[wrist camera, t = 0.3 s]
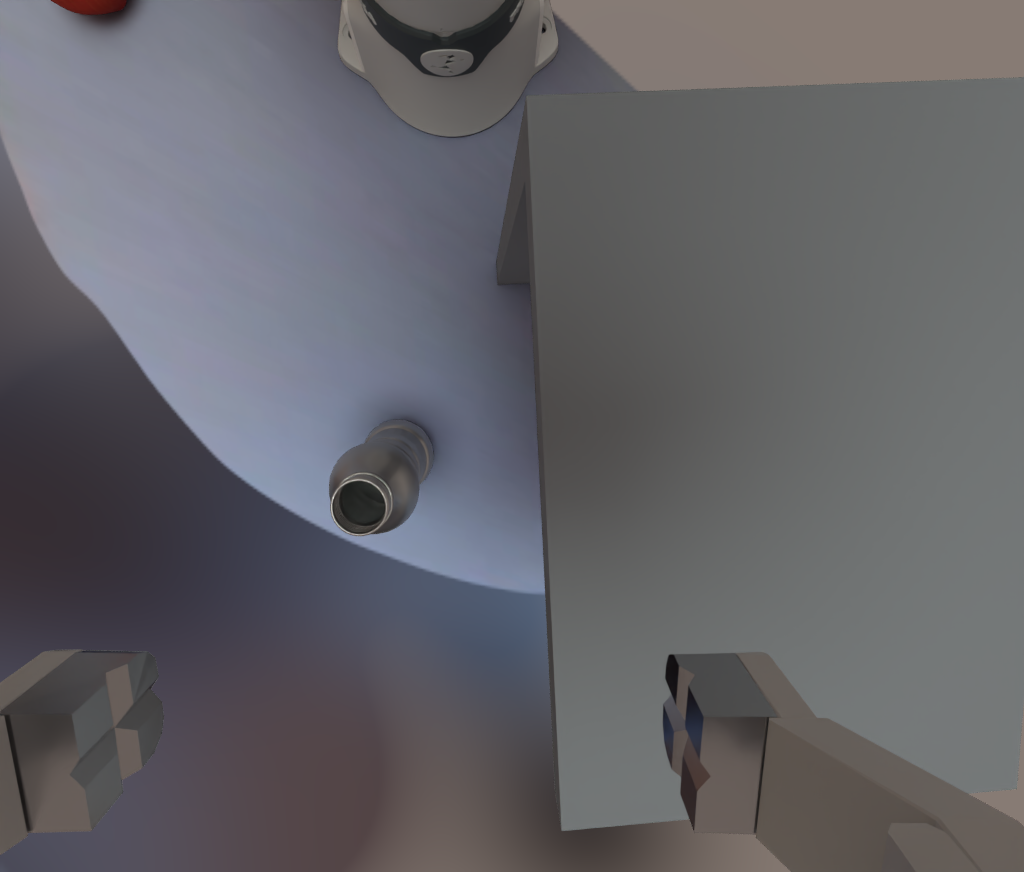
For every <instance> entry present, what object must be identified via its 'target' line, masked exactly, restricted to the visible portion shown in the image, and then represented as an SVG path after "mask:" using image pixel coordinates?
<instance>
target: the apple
mask: <svg viewBox="0 0 1024 872" xmlns="http://www.w3.org/2000/svg"><path fill="white" fill-rule="evenodd" d="M51 1H53V2H54V3H56V4H58V5H59V6H61V7H63V8H65V9H67V10H69V11H72V12H75V13H79V14H86V15H98V14H107V13H111V12H115V11H119V10H122V9H123V8H124V7H125V5H126V1H127V0H51Z"/></svg>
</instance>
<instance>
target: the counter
mask: <svg viewBox="0 0 1024 872" xmlns="http://www.w3.org/2000/svg"><path fill="white" fill-rule="evenodd" d="M496 268H497V285H501V284H521V283H530V292H531V313H532V333H533V353H534V374H535V394H536V415H537V435H538V455H539V476H540V496H541V517H542V537H543V557H544V578H545V597H546V618H547V638H548V659H549V678H550V699H551V720H552V741H553V761H554V781H555V795H556V801H557V807H558V812H559V819H560V824H561V830H562V831H567V830H578V829H588V828H599V827H610V826H621V825H632V824H642V823H653V822H664V821H675V820H685V819H689V817H688V814H687V811H686V808H685V806H684V803H683V800H682V797H681V795H680V788H681V777H680V776H679V775H678V774H677V773H675V772H674V771H673V770H672V769H671V766H670V763H669V760H668V757H667V753H666V748H665V744H664V734H663V704H664V702H665V701H666V700H667V699H668V698H669V696H670V695H671V692H670V689H669V687H668V685H667V682H666V680H665V672H666V663H667V659H668V655H670V654H709V653H742V652H764V653H766V654H768V655H770V657H771V658H772V659H773V661H774V662H775V663H776V665H777V666H778V667H779V668H780V670H781V671H782V672H783V674H784V675H785V676H786V678H787V679H788V680H789V682H790V683H791V684H792V685H793V687H794V688H795V689H796V691H797V692H798V693H799V695H800V696H801V697H802V698H803V700H804V701H805V702H806V704H807V705H808V706H809V708H810V709H811V710H812V712H813V713H814V714H815V715H816V717H817V718H829V719H830V720H832V721H834V722H836V723H838V724H840V725H842V726H843V727H845V728H847V729H849V730H851V731H853V732H854V733H856V734H858V735H860V736H862V737H864V738H866V739H867V740H869V741H871V742H873V743H875V744H877V745H879V746H880V747H882V748H884V749H886V750H888V751H890V752H891V753H893V754H895V755H897V756H899V757H901V758H903V759H904V760H906V761H908V762H910V763H912V764H914V765H916V766H917V767H919V768H921V769H923V770H925V771H927V772H928V773H930V774H932V775H934V776H936V777H938V778H940V779H941V780H943V781H945V782H947V783H949V784H951V785H952V786H954V787H956V788H958V789H960V790H962V791H964V792H965V793H967V794H968V793H978V792H989V791H1000V790H1011V789H1017V781H1018V767H1019V755H1020V743H1021V731H1022V718H1023V705H1024V77H1019V78H994V79H993V78H992V79H966V80H965V79H964V80H937V81H910V82H882V83H857V84H856V83H855V84H831V85H829V84H828V85H800V86H773V87H748V88H747V87H746V88H719V89H691V90H665V91H637V92H609V93H582V94H555V95H527V96H526V101H525V106H524V112H523V117H522V123H521V128H520V134H519V139H518V145H517V150H516V156H515V161H514V167H513V172H512V178H511V183H510V189H509V194H508V200H507V205H506V211H505V216H504V222H503V227H502V233H501V238H500V244H499V249H498V255H497V260H496Z"/></svg>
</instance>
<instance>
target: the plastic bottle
mask: <svg viewBox="0 0 1024 872" xmlns="http://www.w3.org/2000/svg"><path fill="white" fill-rule="evenodd" d="M433 460H434V452H433V447H432V444H431V442H430V439H429V438H428V436H427V435H426V433H425V432H424V431H423V430H422V429H421V428H420V427H419V426H417V425H416V424H414V423H411V422H409V421H405V420H390V421H386V422H384V423H382V424H380V425H378V426H377V427H375V428H374V429H373V430H372V431H371V432H370V433H369V435H368V437H367V438H366V440H365V443H362V444H360V445H358V446H356V447H353V448H351V449H350V450H349V451H347V452H346V453H344V454H343V455H342V456H341V457H340V459H339V460H338V461H337V463H336V464H335V466H334V467H333V470H332V473H331V475H330V481H329V496H330V501H331V504H330V510H331V515H332V518H333V520H334V522H335V523H336V525H337V526H338V527H339V528H340V529H341V530H342V531H344V532H346V533H348V534H350V535H354V536H365V535H369V534H379V533H384V532H388V531H391V530H393V529H395V528H397V527H399V526H400V525H402V524H403V523H404V522H405V521H406V520H407V519H408V518H409V517H410V515H411V514H412V512H413V511H414V509H415V506H416V504H417V501H418V496H419V490H420V484H422V483H423V482H424V480H425V479H426V478H427V477H428V475H429V473H430V471H431V469H432V466H433Z"/></svg>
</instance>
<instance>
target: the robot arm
mask: <svg viewBox="0 0 1024 872" xmlns="http://www.w3.org/2000/svg"><path fill="white" fill-rule="evenodd" d="M542 27H543V28H544V29H545V31H546V32H545V33H542ZM350 35H351V38H352V39H351V38H350ZM557 50H558V36H557V31H556V27H555V22H554V18H553V13H552V9H551V4H550V0H342V3H341V14H340V25H339V36H338V52H339V56H340V59H341V61H342V62H343V63H344V64H345V66H347V67H348V68H349V69H350V70H352V71H353V72H354V73H356V74H358V75H359V76H361V77H362V78H364V79H366V80H367V81H369V82H370V83H371V84H372V86H373V87H374V88H375V89H376V91H377V92H378V93H379V95H380V96H381V98H382V99H383V100H384V102H385V103H386V104H387V105H388V107H389V108H390V109H391V110H392V111H393V112H394V113H395V114H396V115H397V116H399V117H400V118H401V119H402V120H404V121H405V122H406V123H408V124H410V125H411V126H413V127H415V128H417V129H419V130H421V131H424V132H427V133H430V134H434V135H439V136H447V137H457V136H465V135H470V134H474V133H477V132H480V131H482V130H484V129H486V128H488V127H490V126H492V125H494V124H495V123H496V122H498V121H499V120H500V119H502V118H503V117H504V116H505V115H506V114H507V113H508V112H509V111H510V110H511V109H512V108H513V106H514V105H515V104H516V102H517V101H518V99H519V98H520V96H521V94H522V92H523V91H524V89H525V87H526V85H527V83H528V82H529V80H530V79H531V78H532V76H533V75H534V74H536V73H537V72H538V71H540V70H541V69H542V68H543V67H545V66H546V65H547V64H548V63H549V62H551V60H552V59H553V58H554V57H555V55H556V54H557ZM158 676H159V675H158V670H157V664H156V659H155V657H154V656H152V655H151V654H150V653H149V652H145V651H101V650H85V651H84V650H53V651H46V652H43V653H41V654H40V655H39V656H37V657H36V658H34V659H33V660H31V661H30V662H29V663H27V664H26V665H25V666H23V667H22V668H20V669H19V670H18V671H16V672H15V673H13V674H12V675H11V676H9V677H8V678H7V679H5V680H4V681H2V682H1V683H0V855H1V854H2V853H4V852H5V851H7V850H8V849H10V848H11V847H13V846H14V845H16V844H17V843H19V842H20V841H21V840H23V839H24V838H26V837H27V836H28V833H40V832H71V831H72V832H73V831H92V830H93V829H94V827H95V826H96V825H97V824H98V822H99V821H100V820H101V819H102V817H103V816H104V815H105V814H106V813H107V811H108V810H109V809H110V807H111V806H112V805H113V804H114V803H115V801H116V800H117V799H118V798H119V796H120V795H121V794H122V793H123V786H122V780H123V779H125V778H126V777H128V776H130V775H131V774H133V773H135V772H137V771H138V770H140V769H142V768H143V767H144V765H145V764H146V763H147V761H148V760H149V759H150V757H151V756H152V755H153V754H154V752H155V749H156V747H157V744H158V742H159V739H160V737H161V734H162V728H163V719H164V715H163V706H162V702H161V700H160V699H159V698H158V697H157V696H156V695H155V694H154V693H153V691H152V690H151V688H152V686H153V685H154V683H155V681H156V680H157V679H158ZM665 680H666V682H667V685H668V687H669V689H670V692H671V695H670V696H669V698H668V699H667V700H666V701H665V702H664V704H663V734H664V744H665V748H666V753H667V757H668V760H669V763H670V766H671V769H672V770H673V771H674V772H675V773H677V774H678V775H679V776H680V777H681V788H680V795H681V797H682V800H683V803H684V806H685V808H686V811H687V814H688V817H689V819H690V822H691V825H692V827H693V831H694V833H727V834H755V835H756V838H757V839H758V840H759V841H760V842H761V843H762V844H763V845H764V846H765V847H766V848H767V849H768V850H769V851H770V852H771V853H772V854H773V855H774V856H775V857H776V858H777V859H778V860H779V861H780V862H781V863H783V864H784V865H785V866H786V867H787V868H788V869H789V870H790V871H791V872H1024V826H1023V825H1022V824H1021V823H1020V822H1018V821H1017V820H1015V819H1013V818H1012V817H1010V816H1008V815H1006V814H1004V813H1002V812H1000V811H999V810H997V809H995V808H993V807H991V806H989V805H988V804H986V803H984V802H982V801H980V800H978V799H977V798H975V797H973V796H971V795H969V794H967V793H965V792H964V791H962V790H960V789H958V788H956V787H954V786H952V785H951V784H949V783H947V782H945V781H943V780H941V779H940V778H938V777H936V776H934V775H932V774H930V773H928V772H927V771H925V770H923V769H921V768H919V767H917V766H916V765H914V764H912V763H910V762H908V761H906V760H904V759H903V758H901V757H899V756H897V755H895V754H893V753H891V752H890V751H888V750H886V749H884V748H882V747H880V746H879V745H877V744H875V743H873V742H871V741H869V740H867V739H866V738H864V737H862V736H860V735H858V734H856V733H854V732H853V731H851V730H849V729H847V728H845V727H843V726H842V725H840V724H838V723H836V722H834V721H832V720H830V719H829V718H817V717H816V715H815V714H814V713H813V712H812V710H811V709H810V708H809V706H808V705H807V704H806V702H805V701H804V700H803V698H802V697H801V696H800V695H799V693H798V692H797V691H796V689H795V688H794V687H793V685H792V684H791V683H790V682H789V680H788V679H787V678H786V676H785V675H784V674H783V672H782V671H781V670H780V668H779V667H778V666H777V665H776V663H775V662H774V661H773V659H772V658H771V657H770V655H768V654H766V653H764V652H742V653H709V654H670V655H668V659H667V663H666V672H665Z"/></svg>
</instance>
